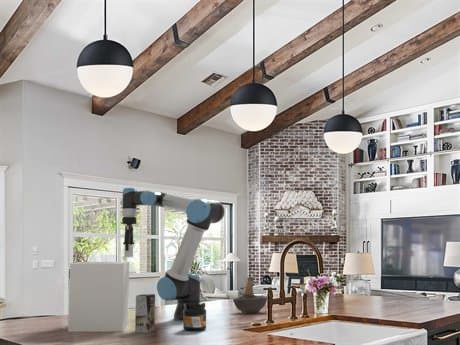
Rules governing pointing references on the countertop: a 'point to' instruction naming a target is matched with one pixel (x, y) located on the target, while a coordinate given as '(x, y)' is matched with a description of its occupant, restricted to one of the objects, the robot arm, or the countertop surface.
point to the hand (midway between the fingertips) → (128, 257)
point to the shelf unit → (98, 296)
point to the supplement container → (194, 316)
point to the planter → (250, 300)
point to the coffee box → (145, 313)
